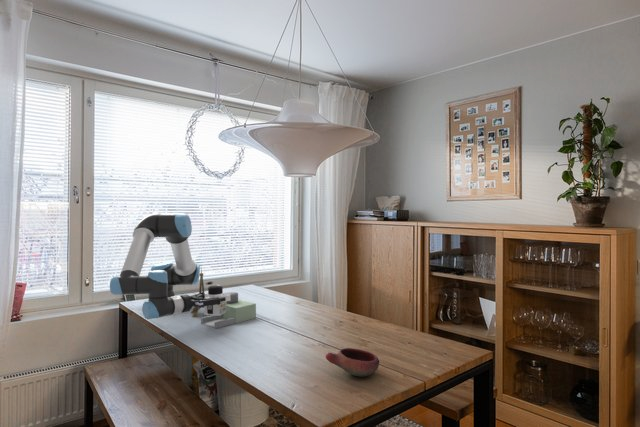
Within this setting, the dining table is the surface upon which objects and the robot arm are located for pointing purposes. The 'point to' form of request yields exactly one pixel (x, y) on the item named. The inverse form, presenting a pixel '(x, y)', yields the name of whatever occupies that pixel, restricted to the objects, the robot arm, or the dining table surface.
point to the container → (217, 309)
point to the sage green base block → (232, 312)
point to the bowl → (355, 361)
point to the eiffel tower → (195, 309)
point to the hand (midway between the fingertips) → (223, 295)
